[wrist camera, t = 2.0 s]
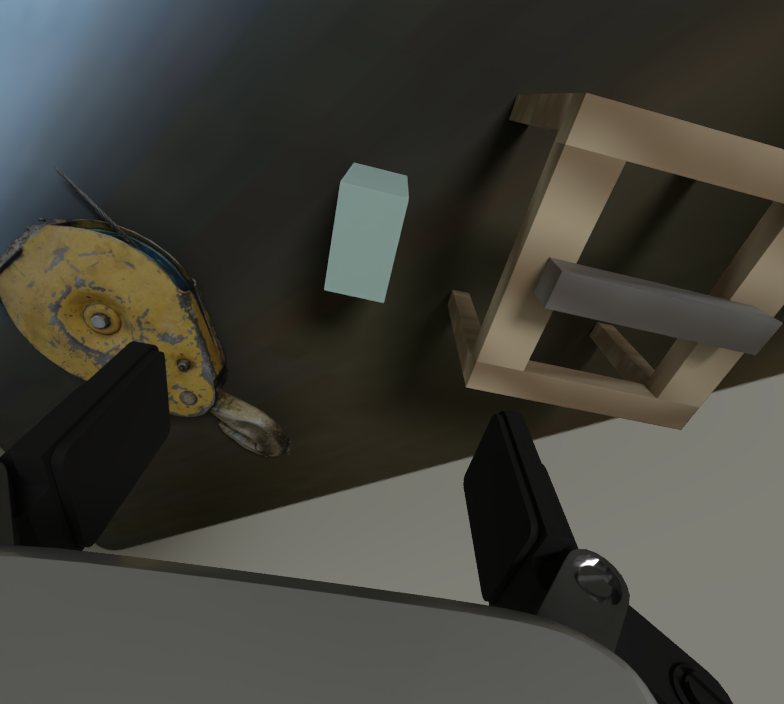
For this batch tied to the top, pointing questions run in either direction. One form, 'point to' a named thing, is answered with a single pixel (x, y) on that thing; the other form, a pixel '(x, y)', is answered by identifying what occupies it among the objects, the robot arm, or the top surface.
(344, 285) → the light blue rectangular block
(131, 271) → the pulley block
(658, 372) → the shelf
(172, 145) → the top surface
